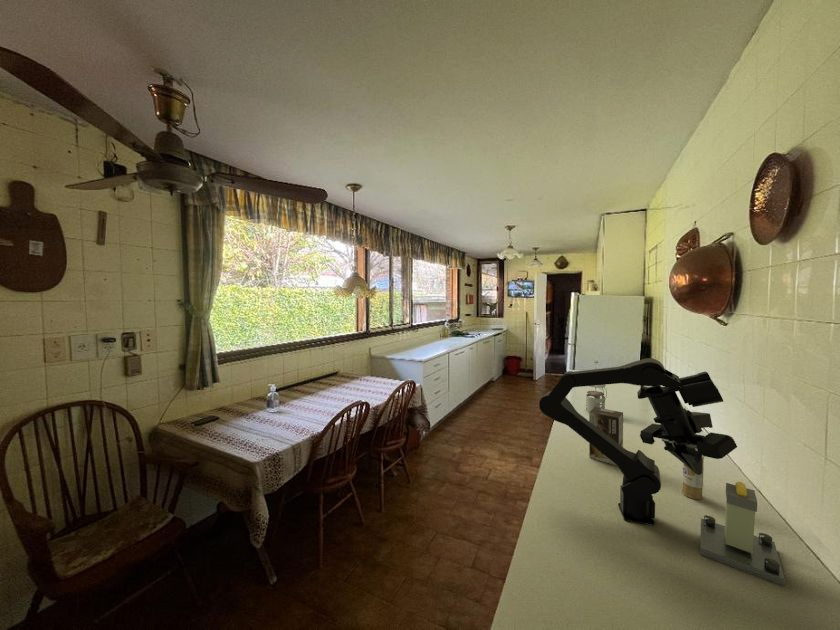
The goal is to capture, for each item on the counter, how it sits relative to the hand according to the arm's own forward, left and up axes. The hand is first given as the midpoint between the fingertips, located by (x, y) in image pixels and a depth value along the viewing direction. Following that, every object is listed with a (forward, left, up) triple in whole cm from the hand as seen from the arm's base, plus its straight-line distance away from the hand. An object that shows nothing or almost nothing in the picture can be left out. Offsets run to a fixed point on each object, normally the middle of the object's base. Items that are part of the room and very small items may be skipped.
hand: (699, 473), depth 76 cm
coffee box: (-13, +31, -14) cm, 37 cm away
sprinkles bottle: (+5, +15, -14) cm, 21 cm away
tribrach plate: (+5, -6, -13) cm, 15 cm away
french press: (-8, +78, -14) cm, 80 cm away
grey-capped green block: (+5, -6, -11) cm, 13 cm away
